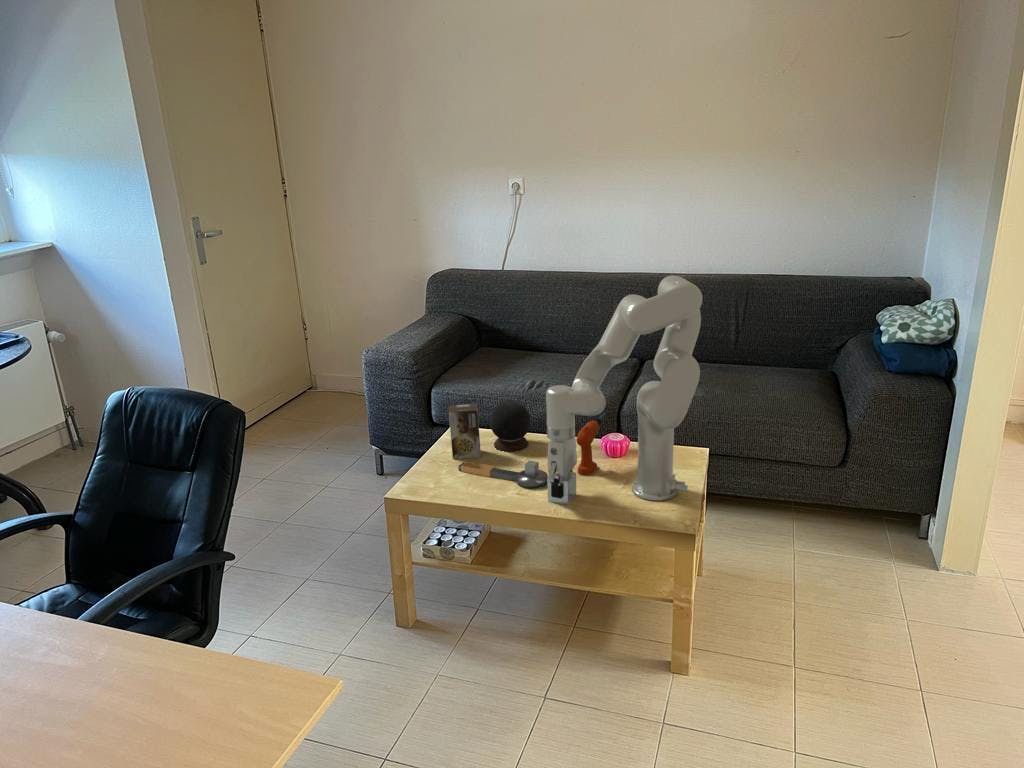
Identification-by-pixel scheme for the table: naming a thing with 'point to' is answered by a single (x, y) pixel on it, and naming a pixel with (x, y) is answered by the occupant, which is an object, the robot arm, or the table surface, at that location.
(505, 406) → the black ball on stand
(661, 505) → the table surface
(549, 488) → the socket
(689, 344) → the robot arm
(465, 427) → the coffee box
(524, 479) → the ratchet
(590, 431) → the toy drill
